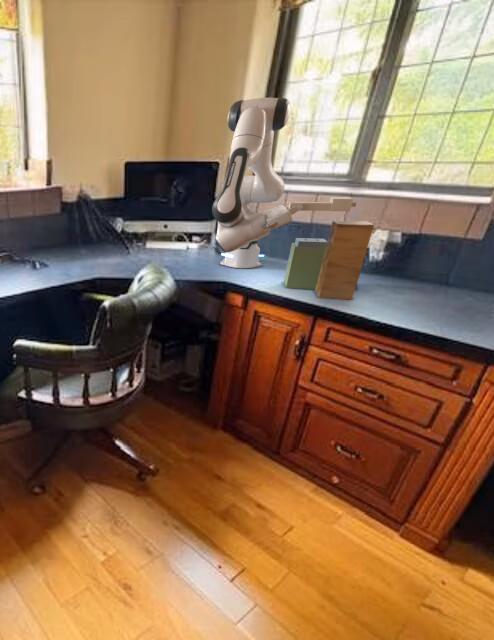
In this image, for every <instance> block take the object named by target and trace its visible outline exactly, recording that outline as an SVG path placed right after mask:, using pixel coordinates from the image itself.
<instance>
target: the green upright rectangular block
mask: <svg viewBox="0 0 494 640" xmlns="http://www.w3.org/2000/svg"><path fill="white" fill-rule="evenodd" d="M327 241H328V240H327V239H325V238H314V237H313V238H309V237H308V238H307V237H296V238H295V240H294V242H291V245H290V250H289V255H288V260H287V264H286V269H285V272H284V273H285V274H284V279H283V284H284V286H285V288H286V289H301V290H302V289H303V290H315V289H316V285H317V281H318V277H319V273H320V269H321V265H322V261H323V257H324V253H325V249H326V245H327Z"/></svg>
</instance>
